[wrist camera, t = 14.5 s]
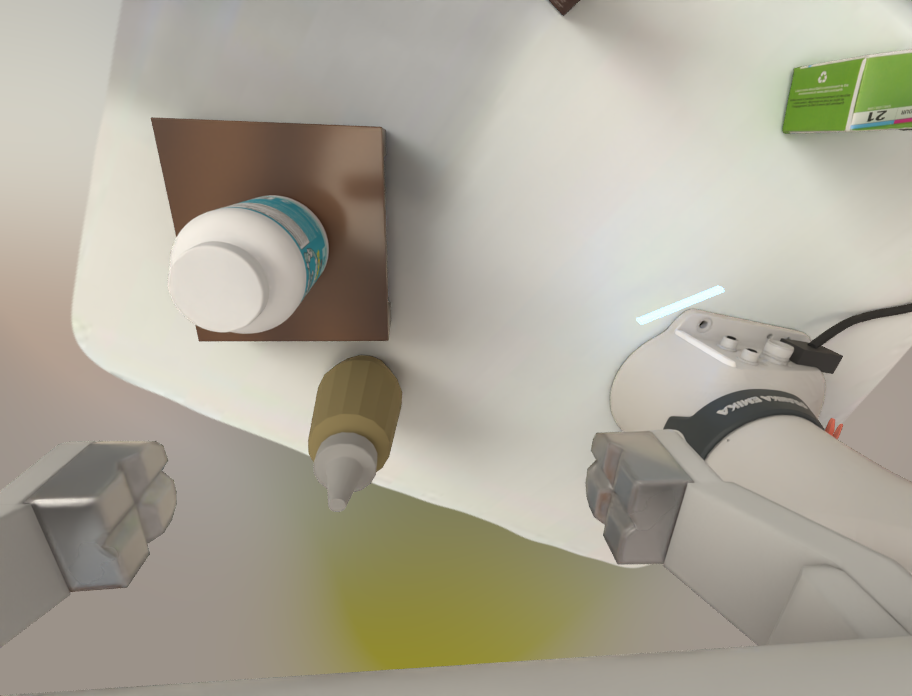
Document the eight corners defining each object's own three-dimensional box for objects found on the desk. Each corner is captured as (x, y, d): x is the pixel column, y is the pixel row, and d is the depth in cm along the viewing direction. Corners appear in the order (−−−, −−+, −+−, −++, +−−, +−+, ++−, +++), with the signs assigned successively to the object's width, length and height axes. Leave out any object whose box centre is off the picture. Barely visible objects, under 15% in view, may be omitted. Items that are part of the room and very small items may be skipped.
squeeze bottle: (317, 403, 47) (266, 539, 31) (332, 335, 44) (285, 444, 28) (392, 420, 49) (381, 557, 32) (412, 355, 46) (411, 469, 29)
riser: (385, 129, 37) (382, 126, 33) (390, 321, 44) (388, 341, 39) (183, 121, 36) (150, 117, 31) (221, 321, 43) (198, 341, 38)
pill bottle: (292, 306, 37) (233, 382, 25) (214, 243, 35) (105, 294, 23) (350, 242, 36) (318, 290, 23) (273, 171, 33) (191, 183, 21)
